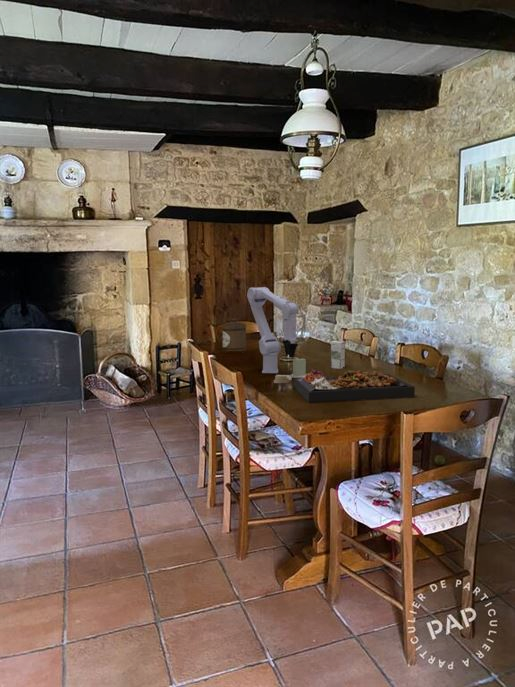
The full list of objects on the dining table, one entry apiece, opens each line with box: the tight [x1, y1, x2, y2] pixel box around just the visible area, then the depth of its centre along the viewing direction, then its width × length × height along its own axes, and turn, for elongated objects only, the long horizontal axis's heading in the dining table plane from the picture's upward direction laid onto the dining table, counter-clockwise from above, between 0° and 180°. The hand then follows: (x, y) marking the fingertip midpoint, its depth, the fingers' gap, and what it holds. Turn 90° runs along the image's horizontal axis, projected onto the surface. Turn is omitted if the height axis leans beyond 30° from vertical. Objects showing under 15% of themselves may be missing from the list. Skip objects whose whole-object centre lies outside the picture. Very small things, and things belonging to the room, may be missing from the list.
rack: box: [274, 374, 292, 381], centre depth 239 cm, size 5×8×2 cm, turn 86°
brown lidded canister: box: [221, 317, 247, 351], centre depth 311 cm, size 15×15×22 cm
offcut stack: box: [273, 375, 290, 384], centre depth 232 cm, size 2×7×3 cm, turn 90°
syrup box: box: [330, 339, 346, 370], centre depth 263 cm, size 6×6×14 cm
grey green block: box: [292, 358, 307, 376], centre depth 244 cm, size 2×6×8 cm, turn 116°
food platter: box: [293, 365, 416, 404], centre depth 214 cm, size 45×25×10 cm, turn 100°
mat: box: [290, 373, 308, 379], centre depth 245 cm, size 8×8×1 cm
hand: (289, 356), depth 241 cm, fingers open, 7 cm apart
